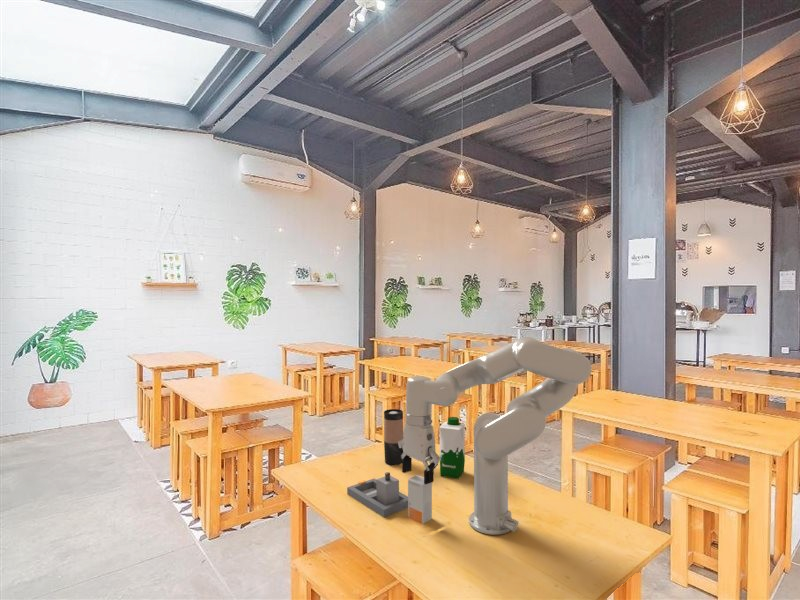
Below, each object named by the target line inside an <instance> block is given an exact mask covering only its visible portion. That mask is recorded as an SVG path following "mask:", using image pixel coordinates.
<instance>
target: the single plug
mask: <svg viewBox="0 0 800 600" xmlns="http://www.w3.org/2000/svg"><path fill="white" fill-rule="evenodd" d="M375 479H376V487H377V501H378V502H379V503H381V504H383V505H384V506H388V505H390V504H393V503H395V502H398V501H399V492H400V480H399V479H398V478H396V477H394V476H392V475H391V472H384V476H383V477H379V478H375Z"/></svg>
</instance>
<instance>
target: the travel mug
mask: <svg viewBox="0 0 800 600" xmlns="http://www.w3.org/2000/svg"><path fill="white" fill-rule="evenodd" d="M383 424H384V425H383V447H384V449H383V450H384V451H383V452H384V464H385V465H388V466H400V465H402V460H403V459H402V458H401V453H400V451H399V449H400V448H399V445H398V441H401V440H403V433H404V411H403V410H401V409H398V408H392V409H391V408H390V409H386V410H384V411H383Z"/></svg>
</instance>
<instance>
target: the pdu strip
mask: <svg viewBox="0 0 800 600" xmlns="http://www.w3.org/2000/svg"><path fill="white" fill-rule="evenodd" d="M376 479H377V478H372V479H369V480H361V481H359V482H358V483H357V484H354V485H353V484H352V485H350V486H347V488H346V489H347V491H346V493H347V494H346V495H348V496H349V497H351V498H352V499H354V500H356V501H357V502H358V503H361V504H362V505H364V506H365V507H366V508H369V509H370V510H371V511H373V512H374V513H376V514H378V515H380V516H381V517H382V518H386V517H387V518H388V517H389V516H392V515H394V514H396V513H398V512H401V511H404V510H406V509H408V495H406V494H404V493H402V492H400V491H399V501H398V502H395V503H393V504H390V505H388V506H384V505H383V504H381V503H379V502H378V501H377V487H376Z"/></svg>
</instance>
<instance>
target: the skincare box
mask: <svg viewBox="0 0 800 600" xmlns="http://www.w3.org/2000/svg"><path fill="white" fill-rule="evenodd" d="M432 483H433V482H432ZM432 483H429V484H424V476H420V475H417V474H416V475H413V476H412V477H410V478H408V479H407V496H408V508H407V516H408V517H407V518H409V519H412V520H414V521H416V522H418V523H421V524H426V523H427V522H429V521H430V520H432V519H433V488H432V487H433V484H432Z"/></svg>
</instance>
